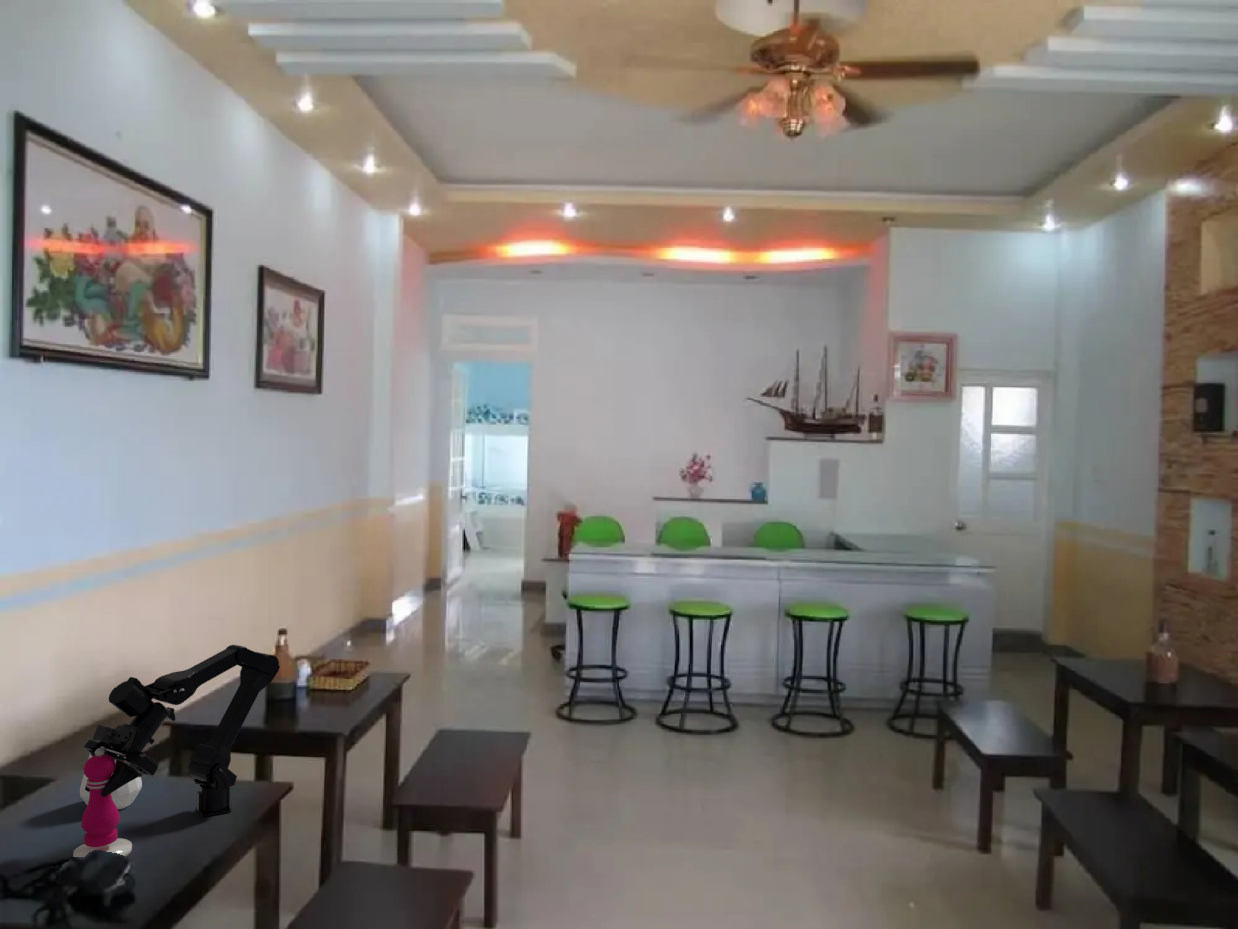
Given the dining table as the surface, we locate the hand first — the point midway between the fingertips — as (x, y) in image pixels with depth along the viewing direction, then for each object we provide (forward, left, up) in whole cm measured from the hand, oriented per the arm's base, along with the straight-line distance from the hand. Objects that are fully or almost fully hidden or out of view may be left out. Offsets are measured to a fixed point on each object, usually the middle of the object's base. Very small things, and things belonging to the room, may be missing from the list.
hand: (94, 793), depth 205 cm
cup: (-7, -29, -13) cm, 33 cm away
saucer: (-2, 0, -13) cm, 13 cm away
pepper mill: (-1, -1, -11) cm, 11 cm away
